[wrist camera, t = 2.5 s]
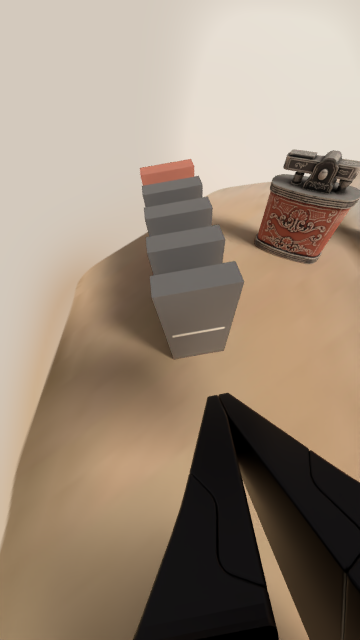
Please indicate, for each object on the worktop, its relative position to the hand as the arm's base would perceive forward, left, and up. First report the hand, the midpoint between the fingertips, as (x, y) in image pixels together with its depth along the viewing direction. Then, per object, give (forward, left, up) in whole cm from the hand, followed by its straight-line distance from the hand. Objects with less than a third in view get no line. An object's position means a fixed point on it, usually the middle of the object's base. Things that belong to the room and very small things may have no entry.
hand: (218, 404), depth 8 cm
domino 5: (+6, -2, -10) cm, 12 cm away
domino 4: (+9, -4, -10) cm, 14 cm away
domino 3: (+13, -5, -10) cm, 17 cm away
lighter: (+12, -19, -10) cm, 25 cm away
